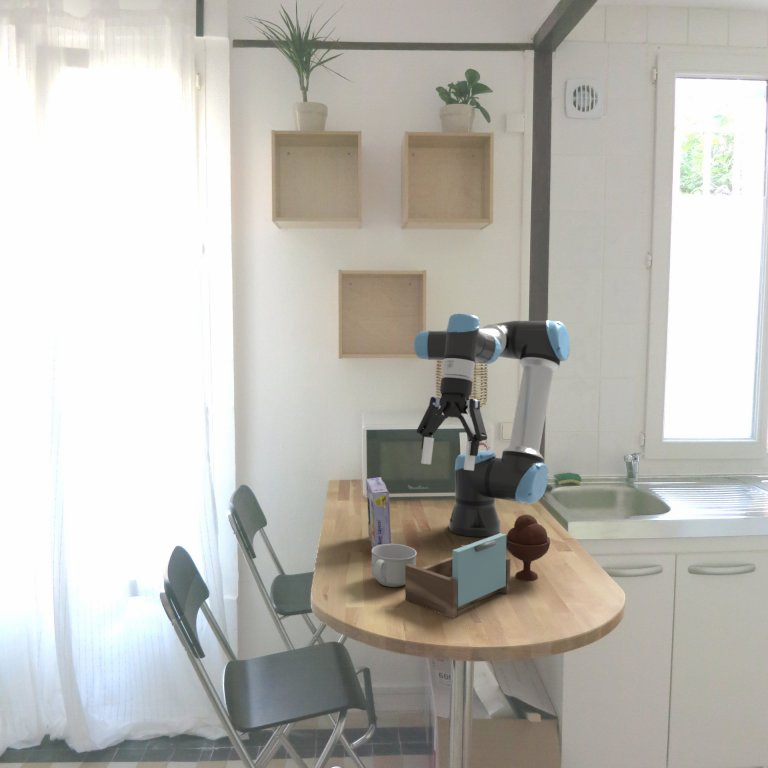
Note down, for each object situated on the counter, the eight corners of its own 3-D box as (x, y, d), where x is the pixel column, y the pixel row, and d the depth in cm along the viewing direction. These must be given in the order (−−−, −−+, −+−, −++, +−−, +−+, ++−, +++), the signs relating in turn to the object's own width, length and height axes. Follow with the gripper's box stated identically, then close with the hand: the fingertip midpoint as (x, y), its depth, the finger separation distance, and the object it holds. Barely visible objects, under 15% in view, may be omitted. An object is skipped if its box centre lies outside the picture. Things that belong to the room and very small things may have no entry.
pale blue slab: (500, 584, 165) (500, 532, 163) (510, 587, 163) (510, 535, 161) (452, 605, 153) (452, 549, 152) (462, 608, 151) (462, 552, 150)
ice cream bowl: (495, 577, 174) (495, 516, 173) (521, 565, 182) (522, 507, 181) (532, 588, 167) (533, 525, 165) (558, 576, 175) (559, 516, 173)
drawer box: (462, 576, 175) (462, 544, 174) (509, 592, 165) (510, 558, 164) (405, 599, 161) (405, 565, 160) (453, 618, 151) (453, 581, 150)
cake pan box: (366, 536, 207) (365, 476, 205) (383, 535, 208) (383, 475, 206) (373, 558, 188) (372, 492, 186) (392, 557, 189) (391, 492, 187)
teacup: (390, 571, 179) (390, 539, 178) (425, 581, 172) (425, 548, 171) (353, 587, 168) (353, 554, 167) (389, 599, 161) (389, 564, 161)
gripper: (409, 375, 178) (398, 460, 177) (488, 376, 160) (477, 471, 158) (429, 380, 184) (419, 462, 182) (508, 381, 165) (498, 473, 163)
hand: (446, 467), depth 170 cm, fingers open, 13 cm apart
